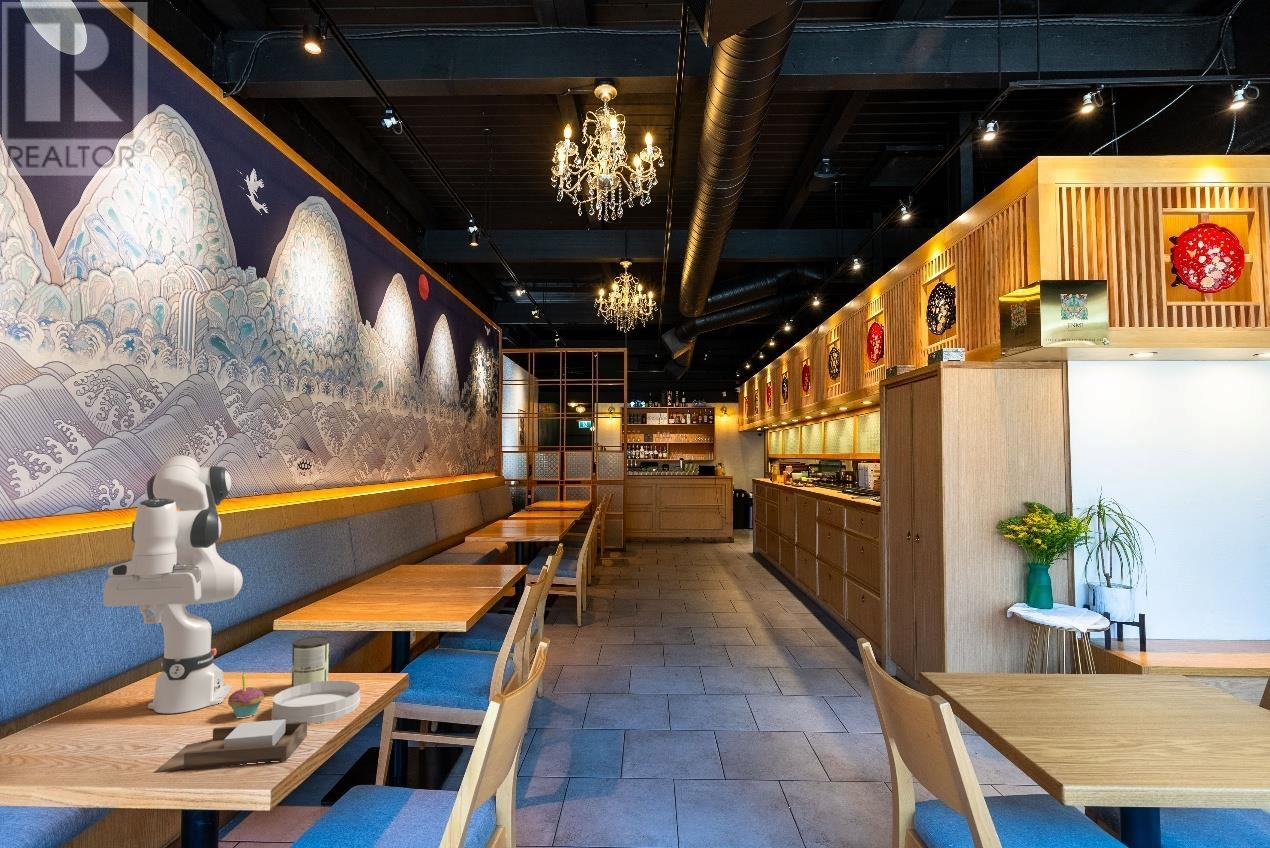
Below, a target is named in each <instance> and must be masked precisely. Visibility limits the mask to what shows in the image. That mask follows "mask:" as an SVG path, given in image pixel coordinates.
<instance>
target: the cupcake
mask: <svg viewBox="0 0 1270 848" xmlns="http://www.w3.org/2000/svg"><path fill="white" fill-rule="evenodd" d="M241 679H242V681H241V682H242V688H240V689H238V690H235V691H234V692H233V693H231V694H229V696H228V701H227V705H228V706H229V707H231V709H232V711H233V713H234V717H235V718H236V717H246V716H250V715H253V714H255V713H256V714H257V711H258V708H259V706H260V704H261V702H262V701H264V699H265V694H264V692H263V690H261V689H259V688H257V687H247V686H246V675H245V673H244V672H243V671H242V677H241ZM256 714H255V715H256Z"/></svg>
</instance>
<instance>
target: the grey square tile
mask: <svg viewBox="0 0 1270 848" xmlns="http://www.w3.org/2000/svg"><path fill="white" fill-rule="evenodd" d="M285 728H286V719H284V720H272V719H271V720H262V721H261V720H260V721H249V722H240V723H239V724H238V725H237V727H236V728H235V729H234V730H233V731H232V732H231V733H230V734H229V735H228V736H227V737H226V738H225V739H224V749H230V748H243V747H256V746H269V745H277V743H278V742H279V741H280V739H281V738H282V737H283V736H284V734H285Z"/></svg>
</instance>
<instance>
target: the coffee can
mask: <svg viewBox="0 0 1270 848" xmlns="http://www.w3.org/2000/svg"><path fill="white" fill-rule="evenodd" d="M291 645H292V654H291V655H292V658H291V659H292V663H291V664H292V665H291V687H295V686H298V685H302V684H307V683H313V682H320V681H329V657H330V656H329V654H330V650H329V649H330V637H328V636H323V635H321V636H320V635H319V636H317V635H315V636H314V635H313V636H307V637H301V638H297V639H295V640H293V641H292V644H291Z"/></svg>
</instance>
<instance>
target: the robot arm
mask: <svg viewBox="0 0 1270 848" xmlns="http://www.w3.org/2000/svg"><path fill="white" fill-rule="evenodd" d="M231 488H232V478H231V475H230V473H229V472H228V469H226V468H225V467H224V466H218V465H211V466H210V467H209V466H207V467H206V466H204V467H200V465H199V463H198V462H197V460H196V459H195V458H193V457H191V456H188V455H183V454H182V455H175V456H172V457H170V458H169V459H167V460H166V461H165V462H164V463H163V464H162V465H161V467H159V469H158V471H157V473H156V474H154V475H152V476H150V478H149V479H148V480H147V482H146V488H145V494H146V496H147V497H146V498H147V499H145V500H143V501H140V502H139V503H138V505H137V508H136V514H135V518H134V520H133V522H132V524H131V539H130V540H131V541H132V542H133V543H134V550H133V552H132V559H131V560H128V561H124V563H120V564H117V565H113V566H109V568H108V570H107V575H108V576H109V577H108V578H107V579H106V581H105V583H104V588H103V595H102V603H103V605H105V606H106V607H108V608H112V607H129V606H130V607H133V606H134V607H135V606H137V607H138V611H139V612H140V614H141V616H142V617H143V624H144V625H153V624H154V625H155V624H160V625H161V627H162V631H163V644H164V645H163V646H164V647H163V649H164V650H163V656H162V658H161V661H160V662H161V664H160V665H161V667H160V669H161V671H162V672H161V673H160V674H159V675H158V676H157V677H156V678H155V685H154V694H153V699H152V700H153V701H151V702H149V703H148V705H147V708H148V709H151V710H153V711H154V712H155V713H158V714H179V713H185V712H190V711H195V710H199V709H203V708H206V707H209V706H215V705H218V703H219V704H222V703H223V702H224V701H225V699H226V698H225V697H228V695H229V693H230V692H231V690H232V689H233V687H232V686H233V685H232V684H227V683H226V684H225V683H224V671H223V670H222V669H221V668H219V667H218V666H217V665H216V664H215V663H214V662H215V661H214V657H215V656H216V655H217V648H212V647H211V645H212V624H211V623H210V622H209V620H207V619H206V618H204V617H201V616H198V615H195V614H192V613H190V612H189V611H188V610H187V606H191V605H201V604H211V603H218V602H223V601H227V600H229V599H230V600H231V599H234V598H235V597H236V596H237V595H238V594H239V593H240V591H241V589H242V587H243V582H244V581H243V580H244V579H243V574H242V572H241V569H239V568H238V567H237V566H236V565H235V564H232V563H229V562H228V561H226V560H225V559H223V558H222V557H221V556H220V555H219V553H218V552H217V548H216V545H217V544H216V543H217V542H218V541H219V539H220V537H221V533H222V521H221V519H220V516H219V513H218V511H217V510H218V509H217V507H218V506H220V505H221V502H222V501H224V500H225V499H226V498H227V496H228V495H229V494H230V492H231ZM178 509H179V510H178ZM150 612H151V613H150ZM231 688H232V689H231ZM230 689H231V690H230ZM229 691H230V692H229ZM227 694H228V695H227ZM224 698H225V699H224ZM223 700H224V701H223ZM222 701H223V702H222ZM221 702H222V703H221Z"/></svg>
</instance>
